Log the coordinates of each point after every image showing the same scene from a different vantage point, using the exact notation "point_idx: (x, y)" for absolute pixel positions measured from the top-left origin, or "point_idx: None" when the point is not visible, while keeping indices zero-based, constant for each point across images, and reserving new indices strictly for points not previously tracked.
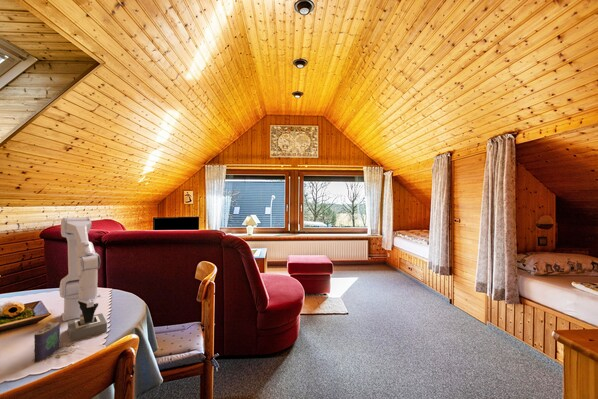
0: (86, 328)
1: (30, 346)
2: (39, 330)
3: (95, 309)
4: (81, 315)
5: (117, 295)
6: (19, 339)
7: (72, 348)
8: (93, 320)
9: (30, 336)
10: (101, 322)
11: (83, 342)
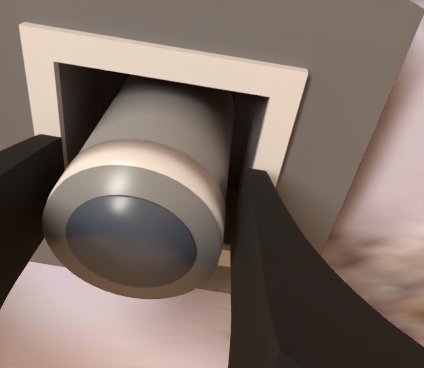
0: (336, 213)
1: (166, 348)
2: None
3: (366, 304)
4: (141, 288)
5: None
6: (30, 352)
7: (420, 258)
8: (203, 128)
9: (19, 326)
10: (322, 58)
11: (399, 196)
